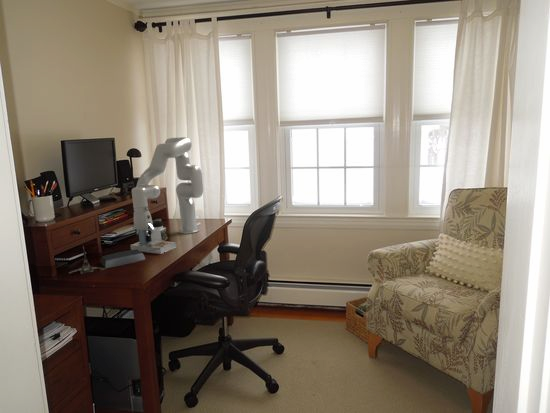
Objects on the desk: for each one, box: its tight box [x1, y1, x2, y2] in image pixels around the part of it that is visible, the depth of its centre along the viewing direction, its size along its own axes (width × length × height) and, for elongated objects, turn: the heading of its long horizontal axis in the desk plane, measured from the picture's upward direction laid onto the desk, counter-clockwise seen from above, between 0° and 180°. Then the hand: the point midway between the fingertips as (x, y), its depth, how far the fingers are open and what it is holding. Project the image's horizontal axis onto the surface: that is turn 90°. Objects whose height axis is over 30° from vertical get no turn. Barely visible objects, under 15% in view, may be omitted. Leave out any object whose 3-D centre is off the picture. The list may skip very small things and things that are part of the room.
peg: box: [138, 230, 150, 245], centre depth 223 cm, size 4×4×11 cm
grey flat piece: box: [130, 240, 177, 255], centre depth 221 cm, size 12×22×3 cm, turn 63°
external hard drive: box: [100, 249, 146, 269], centre depth 202 cm, size 13×19×4 cm
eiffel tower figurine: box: [68, 246, 108, 275], centre depth 189 cm, size 15×10×13 cm
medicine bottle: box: [151, 219, 168, 241], centre depth 238 cm, size 7×7×12 cm
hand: (144, 241), depth 223 cm, fingers open, 5 cm apart
